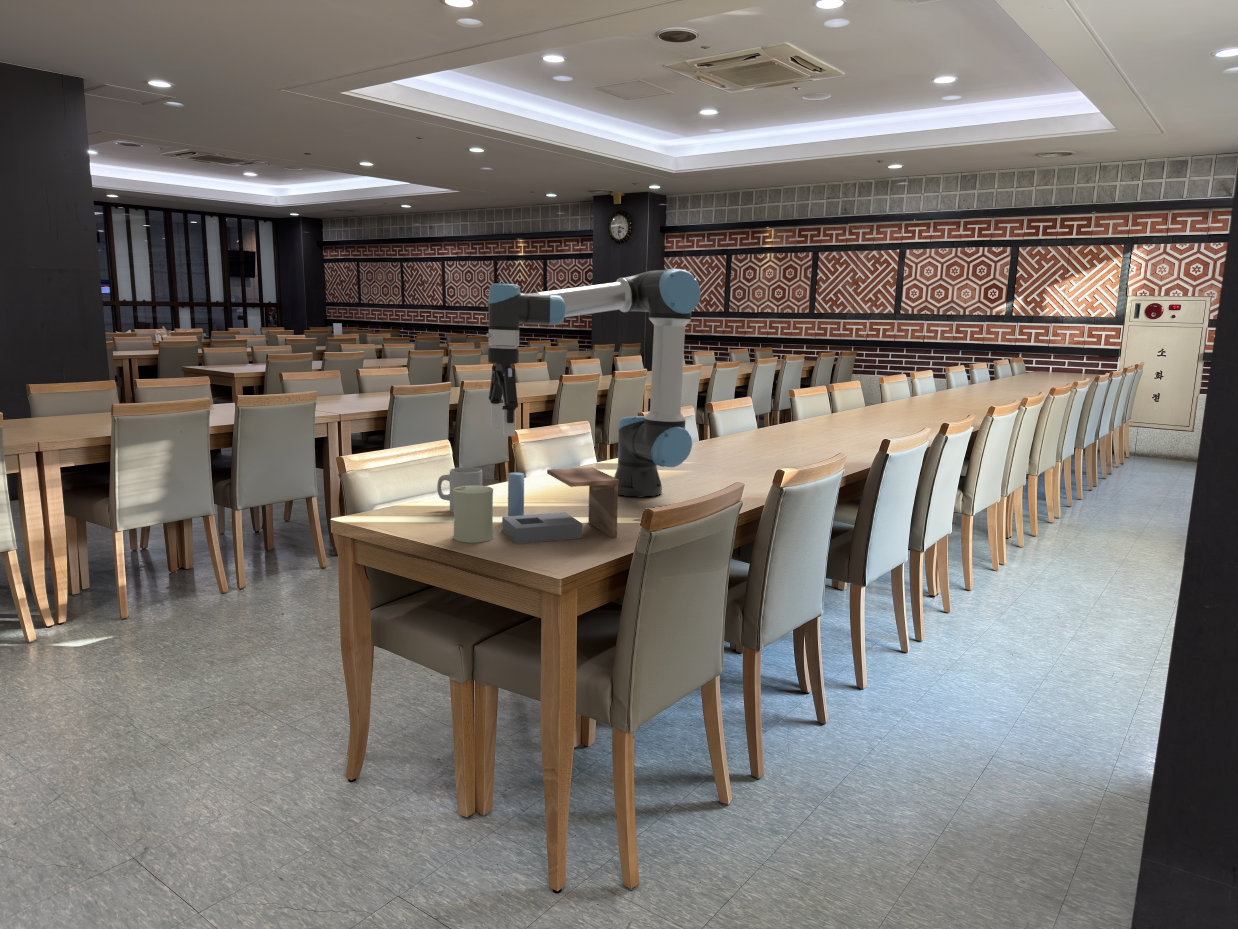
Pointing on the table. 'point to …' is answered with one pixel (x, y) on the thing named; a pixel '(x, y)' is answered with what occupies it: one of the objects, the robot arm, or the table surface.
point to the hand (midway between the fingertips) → (502, 432)
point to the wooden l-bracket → (595, 495)
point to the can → (473, 513)
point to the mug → (459, 481)
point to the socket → (541, 527)
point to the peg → (515, 494)
